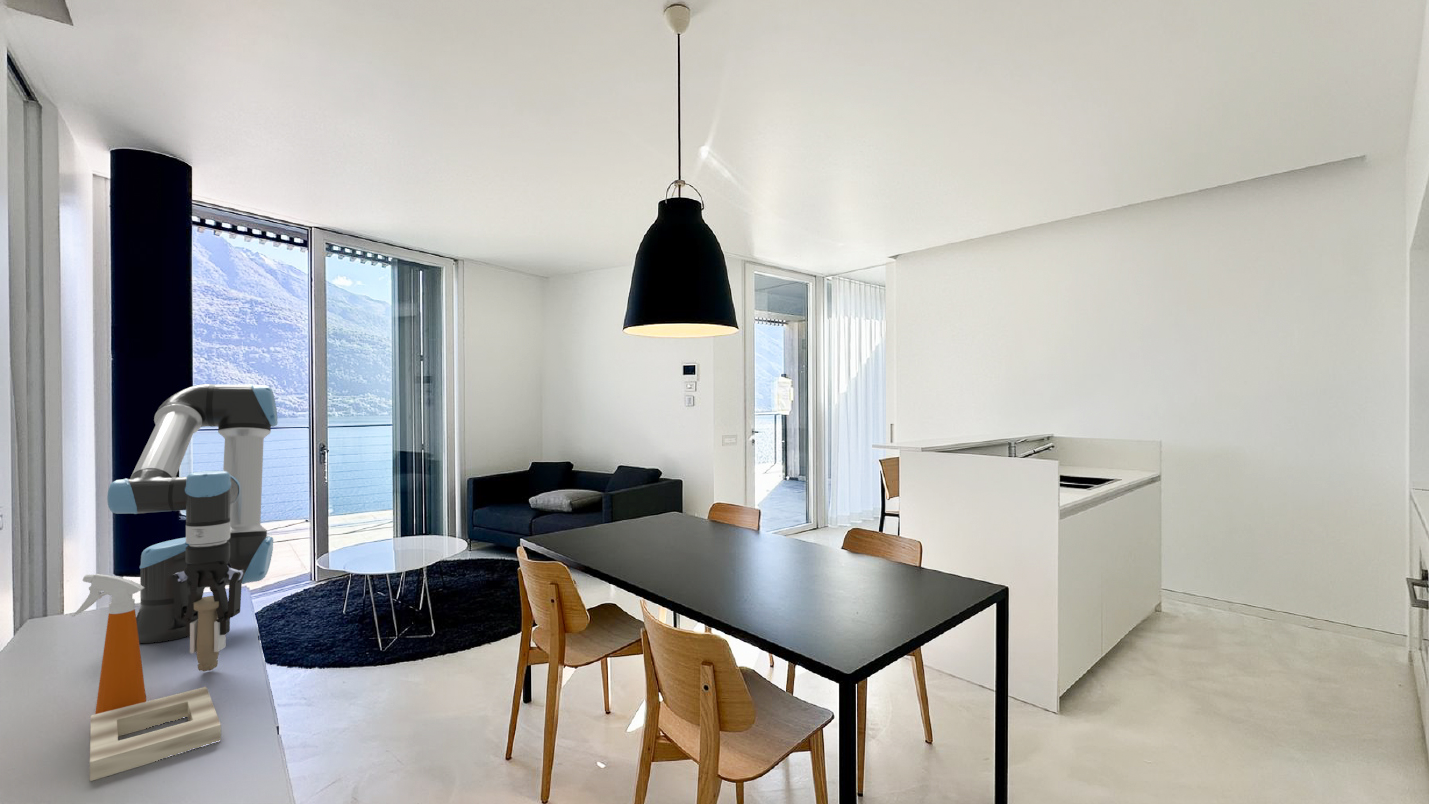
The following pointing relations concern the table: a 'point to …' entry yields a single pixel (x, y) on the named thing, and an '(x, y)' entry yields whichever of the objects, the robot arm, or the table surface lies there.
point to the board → (153, 745)
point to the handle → (206, 633)
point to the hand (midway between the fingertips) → (207, 649)
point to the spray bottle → (118, 644)
